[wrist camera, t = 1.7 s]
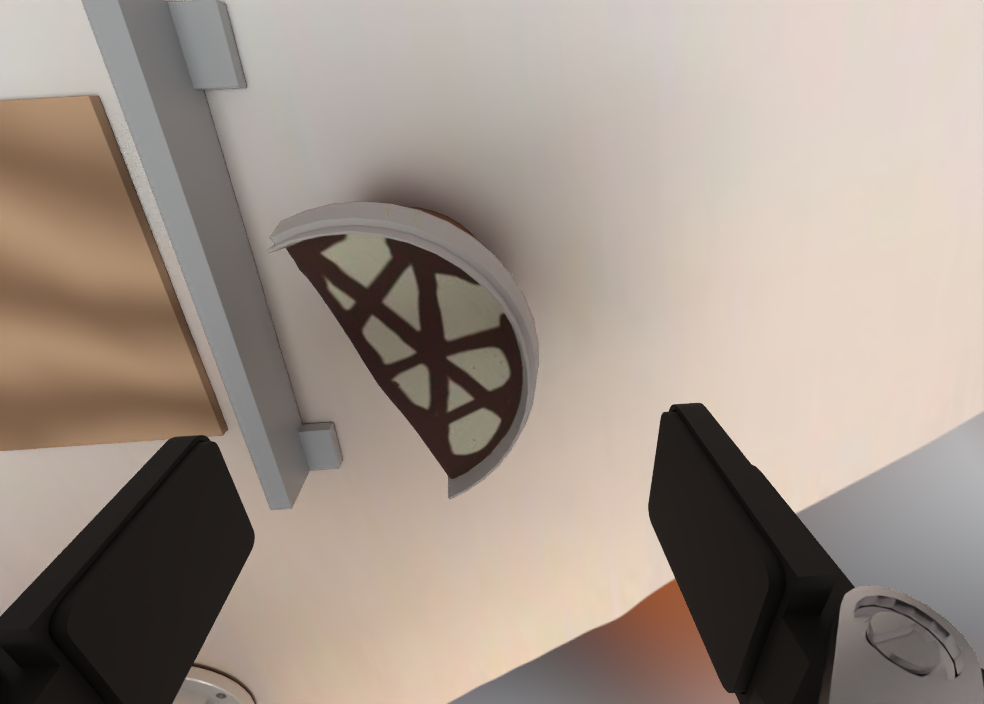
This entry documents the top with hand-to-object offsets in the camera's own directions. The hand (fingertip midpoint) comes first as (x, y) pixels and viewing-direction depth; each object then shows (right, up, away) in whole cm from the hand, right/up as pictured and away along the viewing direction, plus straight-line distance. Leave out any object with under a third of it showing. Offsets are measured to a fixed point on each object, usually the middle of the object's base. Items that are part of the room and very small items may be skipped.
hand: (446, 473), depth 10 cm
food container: (-1, +7, +15) cm, 16 cm away
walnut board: (-23, +5, +14) cm, 27 cm away
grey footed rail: (-12, +6, +14) cm, 20 cm away
